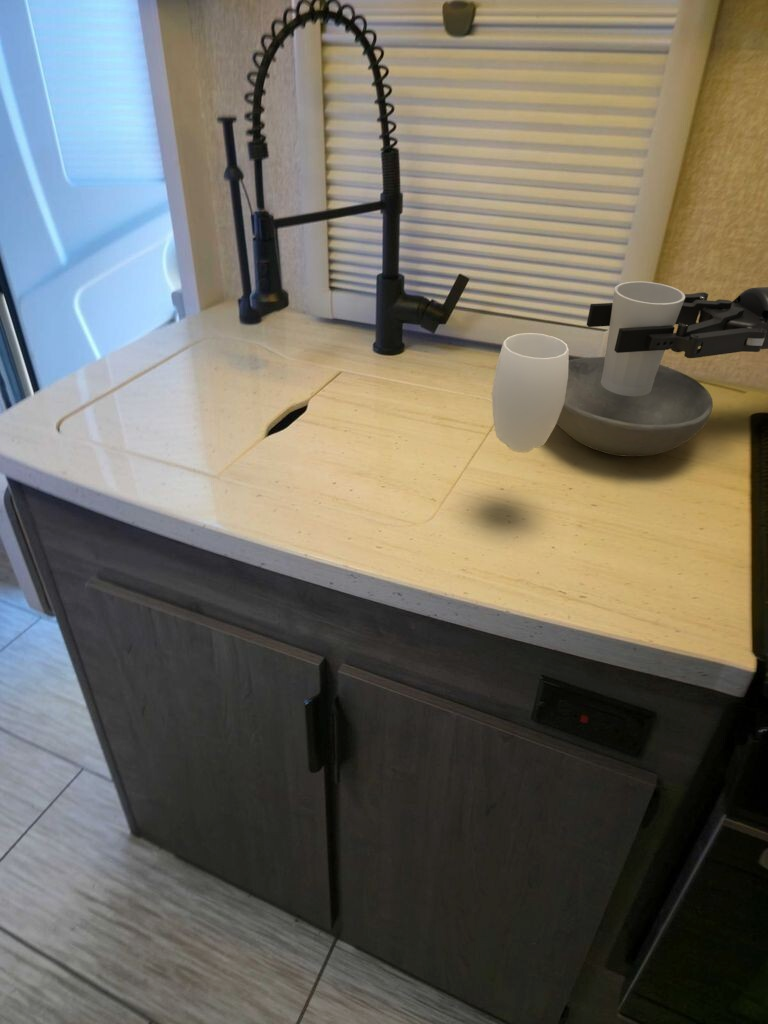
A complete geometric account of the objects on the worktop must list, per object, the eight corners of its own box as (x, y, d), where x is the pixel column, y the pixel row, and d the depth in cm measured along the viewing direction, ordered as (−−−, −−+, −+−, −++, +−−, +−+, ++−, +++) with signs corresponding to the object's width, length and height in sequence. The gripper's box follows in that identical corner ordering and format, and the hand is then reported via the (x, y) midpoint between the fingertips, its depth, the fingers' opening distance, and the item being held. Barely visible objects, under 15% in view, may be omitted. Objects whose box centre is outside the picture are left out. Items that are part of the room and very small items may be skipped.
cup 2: (590, 392, 84) (610, 298, 77) (598, 367, 90) (618, 277, 83) (656, 404, 81) (683, 308, 74) (660, 377, 87) (686, 286, 80)
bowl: (516, 458, 86) (524, 403, 81) (552, 391, 101) (561, 342, 97) (688, 499, 79) (709, 441, 75) (700, 421, 95) (718, 369, 90)
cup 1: (471, 499, 79) (490, 331, 66) (530, 496, 79) (560, 329, 67) (484, 538, 73) (508, 362, 60) (548, 534, 74) (585, 359, 61)
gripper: (817, 380, 78) (634, 393, 74) (719, 317, 93) (565, 326, 90) (844, 318, 73) (651, 329, 70) (737, 263, 89) (576, 270, 86)
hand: (603, 327), depth 80 cm, fingers closed on cup 2, 7 cm apart
